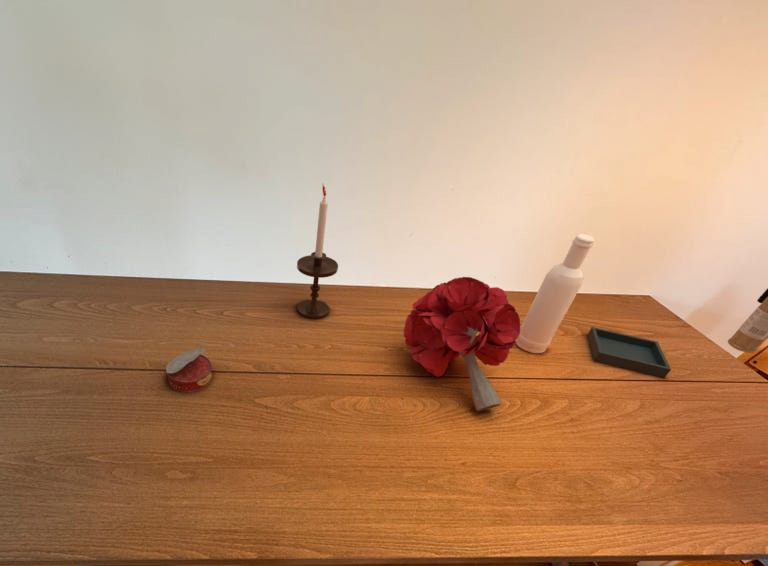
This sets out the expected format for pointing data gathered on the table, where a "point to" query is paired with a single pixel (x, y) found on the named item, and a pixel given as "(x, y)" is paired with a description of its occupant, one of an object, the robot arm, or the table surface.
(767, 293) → the robot arm
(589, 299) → the table surface
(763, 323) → the sprinkles bottle
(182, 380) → the canned food
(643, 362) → the serving tray
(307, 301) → the candlestick
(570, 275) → the bottle
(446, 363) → the bouquet
